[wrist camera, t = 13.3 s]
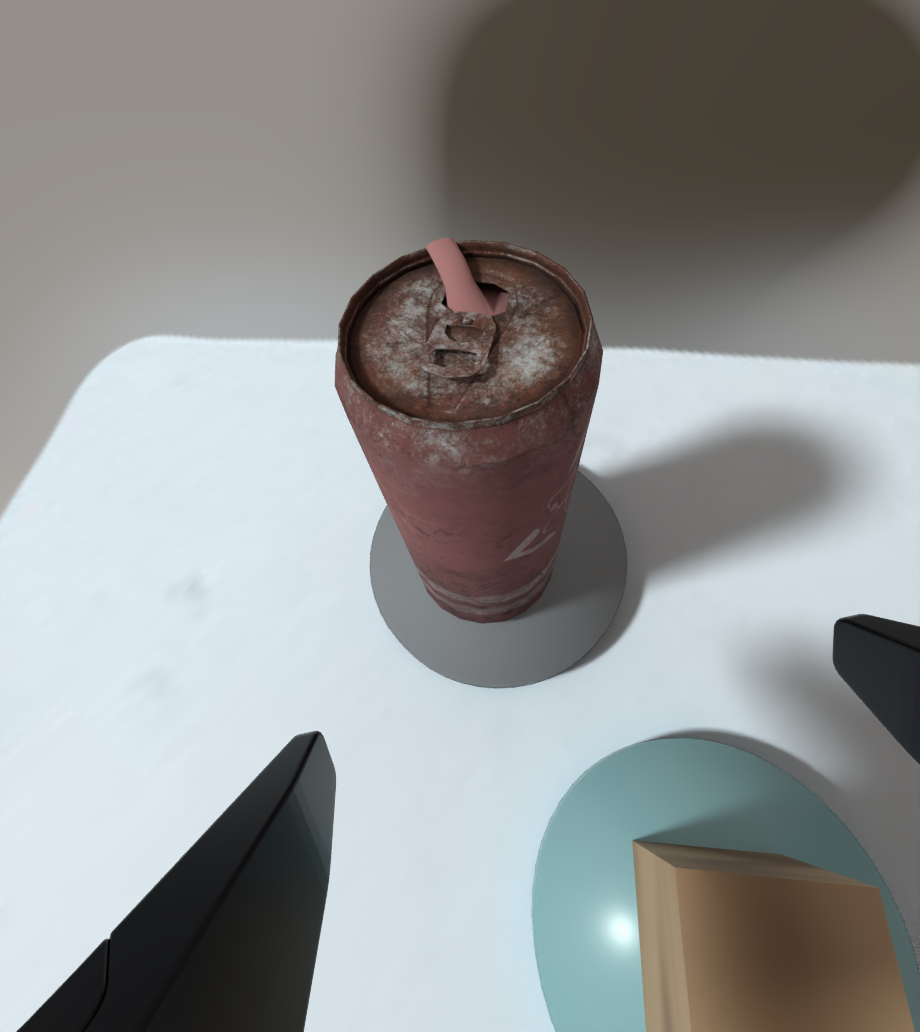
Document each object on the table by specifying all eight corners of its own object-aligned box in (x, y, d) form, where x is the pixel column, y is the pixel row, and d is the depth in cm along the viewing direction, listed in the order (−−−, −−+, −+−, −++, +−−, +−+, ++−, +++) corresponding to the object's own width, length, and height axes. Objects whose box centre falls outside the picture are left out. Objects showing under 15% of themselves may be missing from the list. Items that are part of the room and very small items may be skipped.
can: (514, 482, 24) (524, 192, 12) (575, 593, 22) (671, 365, 9) (401, 527, 24) (288, 270, 11) (449, 648, 21) (368, 482, 9)
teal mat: (909, 827, 18) (935, 832, 17) (883, 1298, 13) (916, 1345, 12) (589, 689, 21) (594, 686, 20) (480, 1034, 16) (478, 1053, 15)
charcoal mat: (650, 499, 25) (656, 488, 24) (574, 736, 20) (578, 735, 19) (438, 432, 28) (435, 419, 27) (331, 624, 23) (322, 618, 22)
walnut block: (780, 854, 17) (878, 887, 12) (817, 1053, 15) (952, 1181, 10) (632, 840, 17) (674, 867, 13) (645, 1030, 15) (702, 1141, 11)
